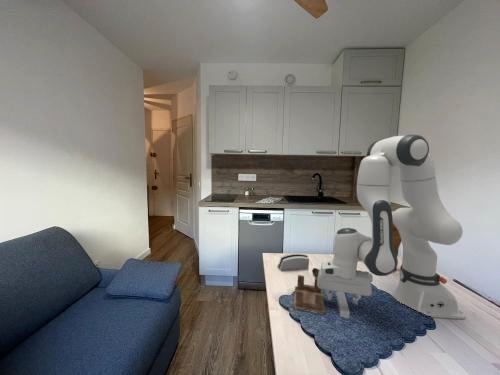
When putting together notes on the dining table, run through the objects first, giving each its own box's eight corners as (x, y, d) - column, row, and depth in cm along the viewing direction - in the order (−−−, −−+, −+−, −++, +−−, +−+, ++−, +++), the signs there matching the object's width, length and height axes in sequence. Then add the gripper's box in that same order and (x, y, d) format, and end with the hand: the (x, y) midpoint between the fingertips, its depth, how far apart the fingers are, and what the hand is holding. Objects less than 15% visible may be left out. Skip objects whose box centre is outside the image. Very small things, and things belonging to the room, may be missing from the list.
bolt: (315, 277, 114) (334, 292, 100) (308, 273, 113) (326, 288, 98) (320, 267, 115) (340, 280, 100) (313, 263, 113) (332, 276, 99)
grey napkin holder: (304, 264, 125) (308, 250, 120) (308, 270, 120) (311, 256, 116) (276, 266, 121) (279, 252, 117) (279, 272, 117) (282, 258, 113)
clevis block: (322, 292, 97) (323, 277, 96) (325, 315, 82) (326, 297, 82) (295, 288, 100) (295, 273, 99) (292, 309, 86) (293, 292, 85)
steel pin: (342, 295, 96) (343, 288, 96) (349, 319, 81) (349, 312, 80) (335, 293, 97) (335, 287, 97) (340, 318, 82) (340, 310, 81)
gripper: (370, 268, 87) (368, 301, 89) (317, 261, 93) (315, 292, 94) (375, 276, 81) (372, 311, 83) (318, 268, 87) (316, 301, 88)
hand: (341, 301), depth 89 cm, fingers open, 8 cm apart
